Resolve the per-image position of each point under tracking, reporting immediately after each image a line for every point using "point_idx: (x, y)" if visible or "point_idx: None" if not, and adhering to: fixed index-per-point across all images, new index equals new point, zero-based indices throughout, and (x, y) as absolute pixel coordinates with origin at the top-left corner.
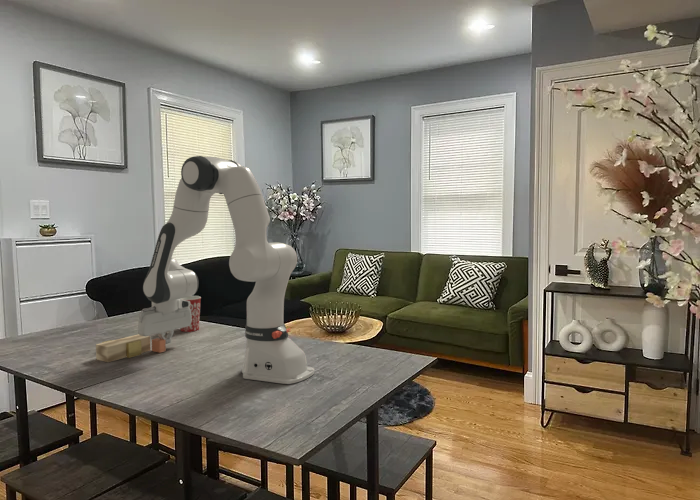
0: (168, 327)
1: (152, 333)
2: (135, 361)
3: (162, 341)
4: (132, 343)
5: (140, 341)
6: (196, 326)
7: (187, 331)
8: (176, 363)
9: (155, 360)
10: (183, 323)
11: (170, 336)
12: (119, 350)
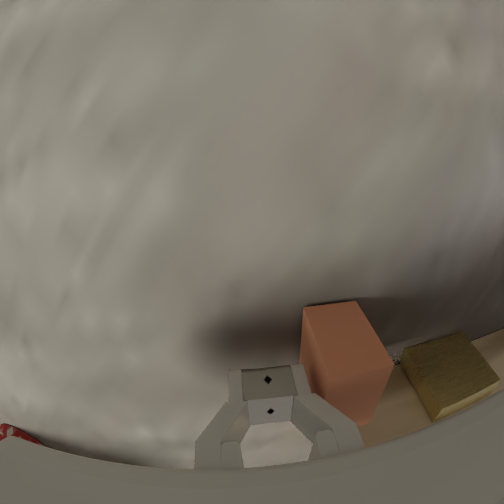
0: (305, 500)
1: (485, 411)
2: (499, 258)
3: (359, 364)
4: (484, 385)
5: (445, 404)
6: (2, 436)
7: (36, 441)
8: (449, 6)
9: (473, 179)
10: (61, 490)
11: (237, 415)
12: (498, 364)
